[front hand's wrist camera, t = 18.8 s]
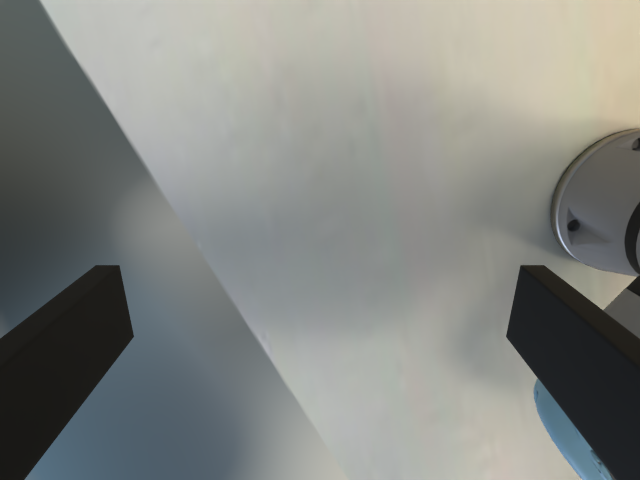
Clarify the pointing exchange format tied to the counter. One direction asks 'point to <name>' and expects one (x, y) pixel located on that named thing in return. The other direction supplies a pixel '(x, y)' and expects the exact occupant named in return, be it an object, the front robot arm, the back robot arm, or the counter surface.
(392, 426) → the counter surface
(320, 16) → the counter surface
